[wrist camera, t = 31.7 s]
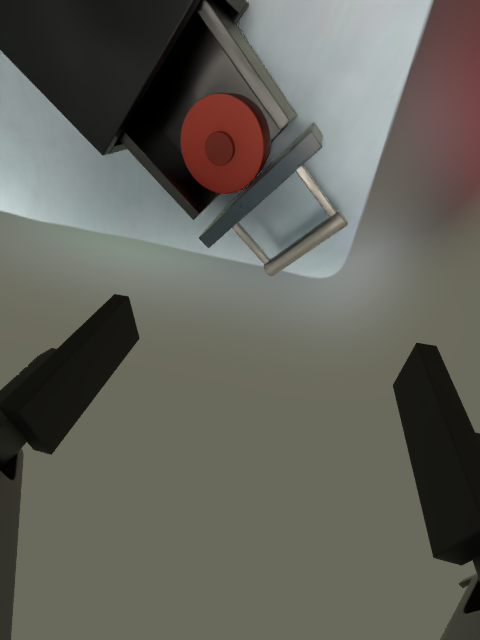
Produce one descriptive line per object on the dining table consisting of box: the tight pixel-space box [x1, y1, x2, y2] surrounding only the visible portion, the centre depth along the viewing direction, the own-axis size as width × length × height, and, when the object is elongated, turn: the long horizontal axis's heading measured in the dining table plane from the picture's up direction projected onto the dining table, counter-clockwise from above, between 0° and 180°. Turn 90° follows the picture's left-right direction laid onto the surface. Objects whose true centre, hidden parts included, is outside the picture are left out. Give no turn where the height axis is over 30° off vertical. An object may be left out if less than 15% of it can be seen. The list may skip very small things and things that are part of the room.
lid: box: [181, 93, 270, 193], centre depth 23 cm, size 7×7×4 cm
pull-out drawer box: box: [118, 0, 348, 276], centre depth 23 cm, size 20×11×7 cm, turn 43°
